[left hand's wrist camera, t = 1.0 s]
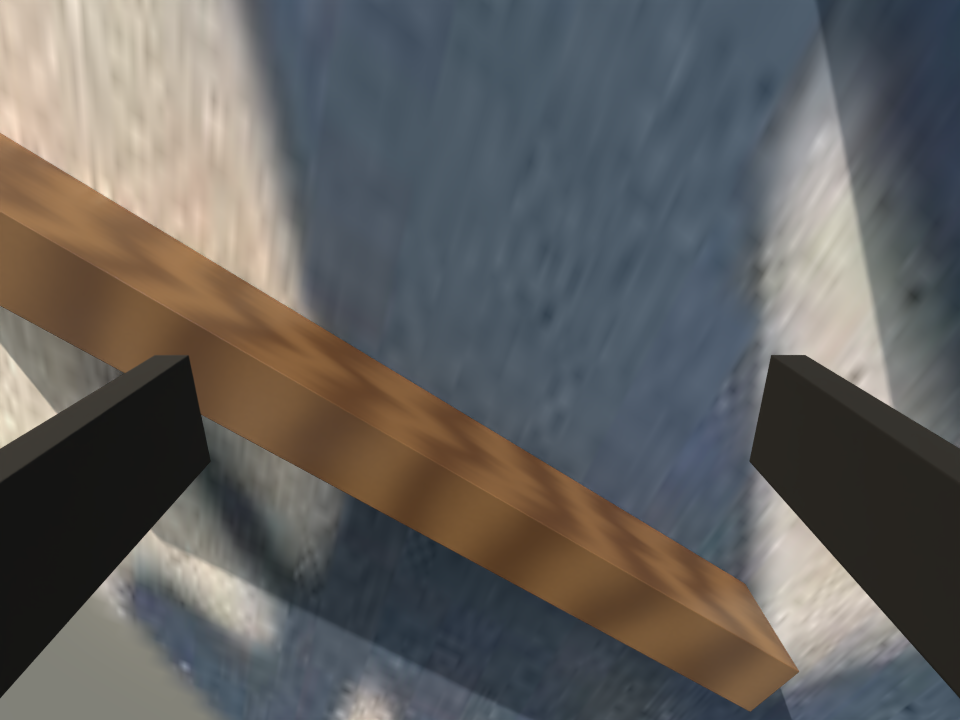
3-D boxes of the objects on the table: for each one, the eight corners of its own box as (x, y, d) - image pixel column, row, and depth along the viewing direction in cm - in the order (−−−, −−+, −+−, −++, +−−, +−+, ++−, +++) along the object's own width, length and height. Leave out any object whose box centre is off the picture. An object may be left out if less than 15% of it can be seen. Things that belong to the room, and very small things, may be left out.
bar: (-198, 100, 33) (-412, 83, 25) (-182, 22, 31) (-404, -22, 23) (705, 620, 48) (750, 712, 40) (745, 583, 46) (799, 671, 38)
